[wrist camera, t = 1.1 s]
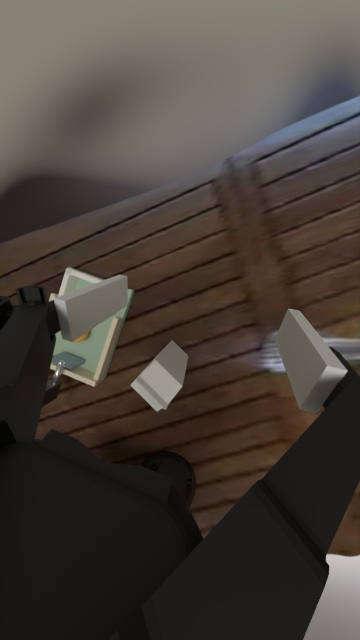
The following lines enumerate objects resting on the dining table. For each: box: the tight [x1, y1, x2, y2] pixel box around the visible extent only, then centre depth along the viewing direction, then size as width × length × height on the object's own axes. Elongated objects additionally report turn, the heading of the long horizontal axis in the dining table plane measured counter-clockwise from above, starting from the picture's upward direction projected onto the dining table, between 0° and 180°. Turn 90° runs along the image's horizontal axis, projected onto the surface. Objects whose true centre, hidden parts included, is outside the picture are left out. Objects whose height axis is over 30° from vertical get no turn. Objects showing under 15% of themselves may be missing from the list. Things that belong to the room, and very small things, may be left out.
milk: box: [131, 340, 188, 411], centre depth 36 cm, size 6×6×22 cm
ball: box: [73, 332, 88, 343], centre depth 45 cm, size 5×5×5 cm
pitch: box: [49, 267, 134, 387], centre depth 46 cm, size 25×18×5 cm
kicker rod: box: [42, 352, 85, 407], centre depth 40 cm, size 9×6×16 cm, turn 160°
